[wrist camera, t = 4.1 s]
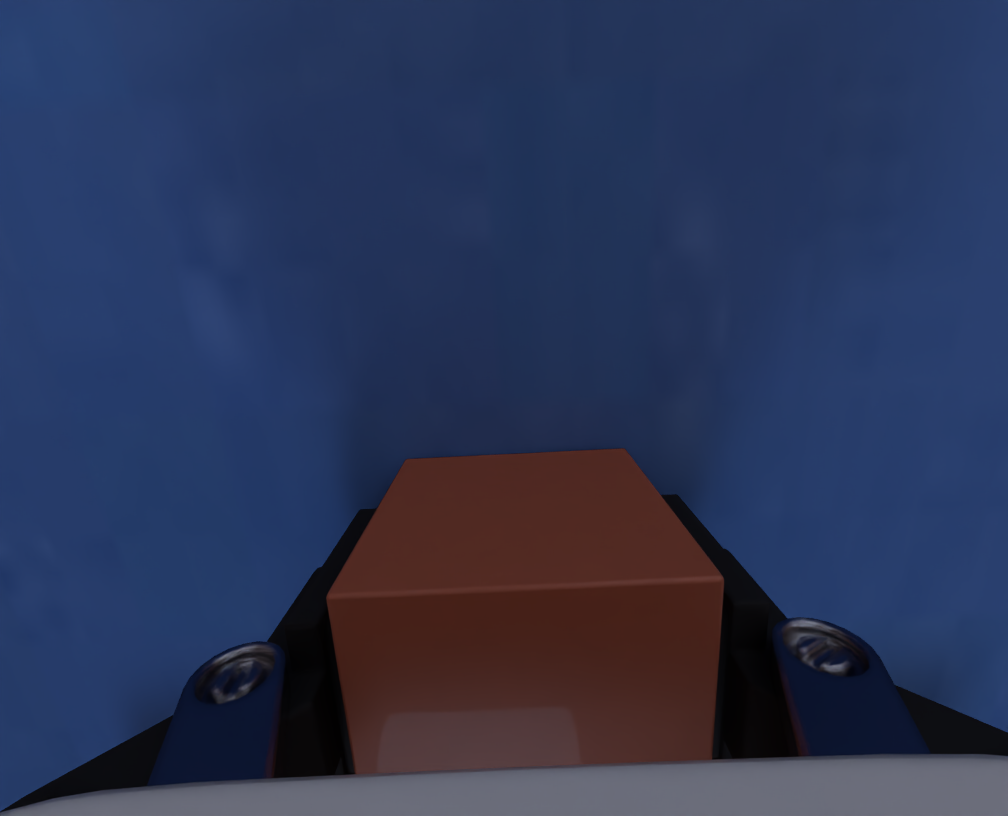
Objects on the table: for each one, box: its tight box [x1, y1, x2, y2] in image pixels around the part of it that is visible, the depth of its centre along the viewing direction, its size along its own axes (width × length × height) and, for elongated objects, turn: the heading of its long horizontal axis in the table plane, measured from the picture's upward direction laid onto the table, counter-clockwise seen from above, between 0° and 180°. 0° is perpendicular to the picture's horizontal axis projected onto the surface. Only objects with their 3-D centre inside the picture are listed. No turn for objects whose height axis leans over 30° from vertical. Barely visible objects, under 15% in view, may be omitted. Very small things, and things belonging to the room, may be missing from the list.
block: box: [326, 448, 724, 774], centre depth 9 cm, size 5×5×5 cm
